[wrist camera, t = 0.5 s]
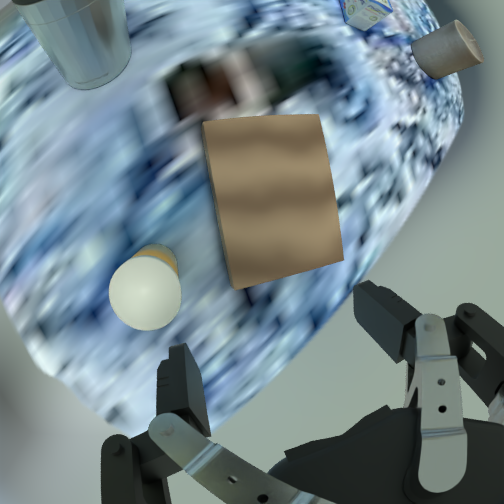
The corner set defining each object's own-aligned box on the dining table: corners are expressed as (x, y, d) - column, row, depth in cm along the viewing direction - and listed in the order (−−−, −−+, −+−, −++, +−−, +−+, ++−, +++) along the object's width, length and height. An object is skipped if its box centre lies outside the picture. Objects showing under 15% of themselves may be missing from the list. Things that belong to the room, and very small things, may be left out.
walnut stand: (199, 133, 28) (203, 121, 24) (303, 124, 31) (318, 114, 27) (227, 281, 31) (234, 290, 27) (326, 255, 34) (343, 260, 30)
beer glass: (127, 248, 27) (100, 267, 16) (172, 237, 29) (171, 250, 18) (139, 294, 28) (121, 336, 17) (183, 283, 30) (189, 321, 19)
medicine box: (337, -3, 30) (362, -27, 22) (357, 5, 31) (383, -16, 23) (344, 23, 31) (373, -1, 23) (365, 32, 32) (395, 11, 24)
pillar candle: (443, 73, 39) (490, 55, 24) (431, 85, 38) (486, 66, 23) (418, 38, 36) (463, 15, 22) (404, 46, 35) (455, 19, 21)
